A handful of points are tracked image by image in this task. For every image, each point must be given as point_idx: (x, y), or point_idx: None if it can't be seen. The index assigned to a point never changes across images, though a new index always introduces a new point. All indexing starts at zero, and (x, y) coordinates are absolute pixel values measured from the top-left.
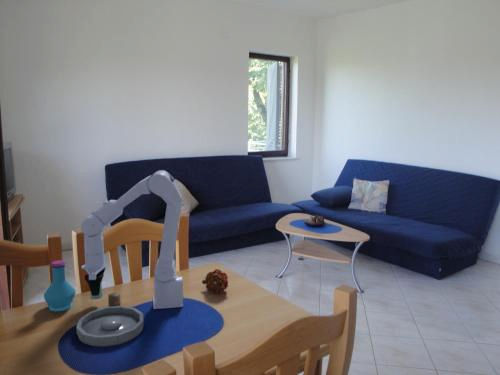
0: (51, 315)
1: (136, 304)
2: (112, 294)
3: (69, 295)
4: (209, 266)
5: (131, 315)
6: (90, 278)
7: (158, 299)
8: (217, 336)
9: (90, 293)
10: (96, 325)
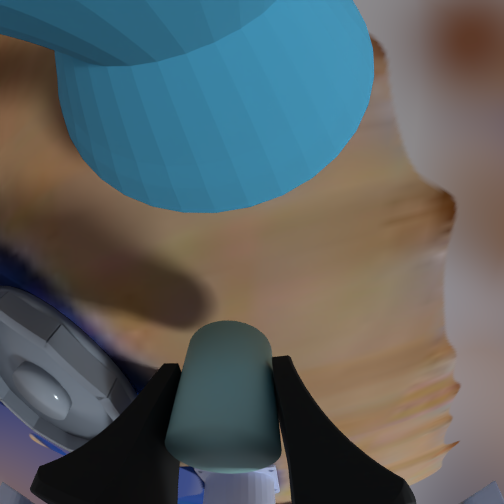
0: None
1: None
2: None
3: (113, 186)
4: (433, 469)
5: None
6: (6, 496)
7: (207, 492)
8: None
9: (204, 348)
10: (28, 349)
